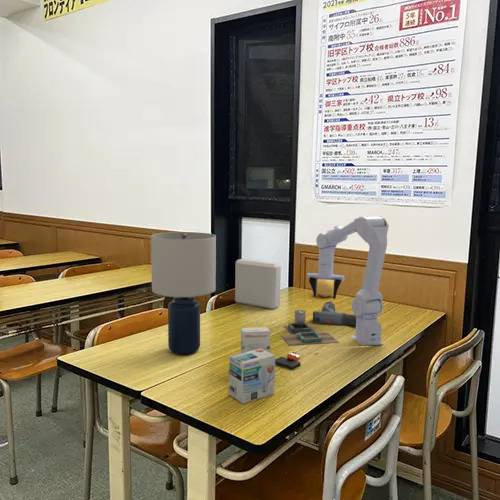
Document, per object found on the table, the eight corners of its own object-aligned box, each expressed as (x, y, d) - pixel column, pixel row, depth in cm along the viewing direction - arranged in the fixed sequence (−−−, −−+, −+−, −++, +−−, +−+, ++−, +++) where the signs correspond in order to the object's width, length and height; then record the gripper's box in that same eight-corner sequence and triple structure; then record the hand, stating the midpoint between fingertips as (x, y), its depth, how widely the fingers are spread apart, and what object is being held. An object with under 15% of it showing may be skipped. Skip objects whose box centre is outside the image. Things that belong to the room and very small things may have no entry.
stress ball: (331, 296, 234) (317, 281, 237) (342, 284, 228) (328, 269, 231) (321, 303, 227) (307, 288, 230) (332, 290, 221) (317, 275, 224)
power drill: (359, 315, 200) (361, 329, 181) (315, 311, 204) (312, 325, 185) (360, 302, 200) (361, 316, 180) (316, 299, 203) (312, 312, 184)
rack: (338, 344, 163) (339, 338, 163) (289, 347, 159) (289, 341, 159) (328, 334, 173) (328, 329, 172) (280, 337, 169) (281, 332, 168)
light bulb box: (242, 404, 118) (243, 363, 117) (227, 394, 124) (228, 355, 122) (275, 393, 124) (276, 355, 123) (260, 384, 130) (261, 347, 128)
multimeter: (297, 347, 161) (297, 337, 160) (326, 356, 152) (326, 346, 152) (261, 361, 148) (261, 351, 148) (290, 372, 140) (291, 361, 139)
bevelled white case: (282, 306, 211) (283, 262, 208) (273, 310, 204) (274, 265, 201) (243, 299, 222) (243, 257, 219) (233, 303, 215) (233, 260, 212)
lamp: (155, 365, 142) (153, 237, 136) (150, 342, 162) (149, 230, 156) (220, 359, 148) (221, 236, 142) (209, 338, 167) (209, 229, 161)
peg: (306, 330, 175) (307, 312, 174) (296, 331, 174) (296, 313, 173) (302, 327, 179) (303, 309, 178) (292, 328, 178) (293, 310, 177)
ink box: (268, 362, 145) (268, 326, 144) (270, 369, 140) (271, 331, 139) (240, 363, 144) (240, 326, 143) (241, 370, 140) (242, 331, 138)
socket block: (316, 334, 173) (316, 329, 172) (290, 336, 171) (290, 330, 170) (307, 326, 182) (307, 321, 182) (282, 327, 180) (283, 322, 180)
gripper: (345, 263, 186) (344, 296, 188) (309, 260, 191) (308, 293, 193) (343, 266, 180) (342, 300, 182) (306, 263, 184) (305, 297, 186)
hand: (324, 297), depth 187 cm, fingers open, 7 cm apart
